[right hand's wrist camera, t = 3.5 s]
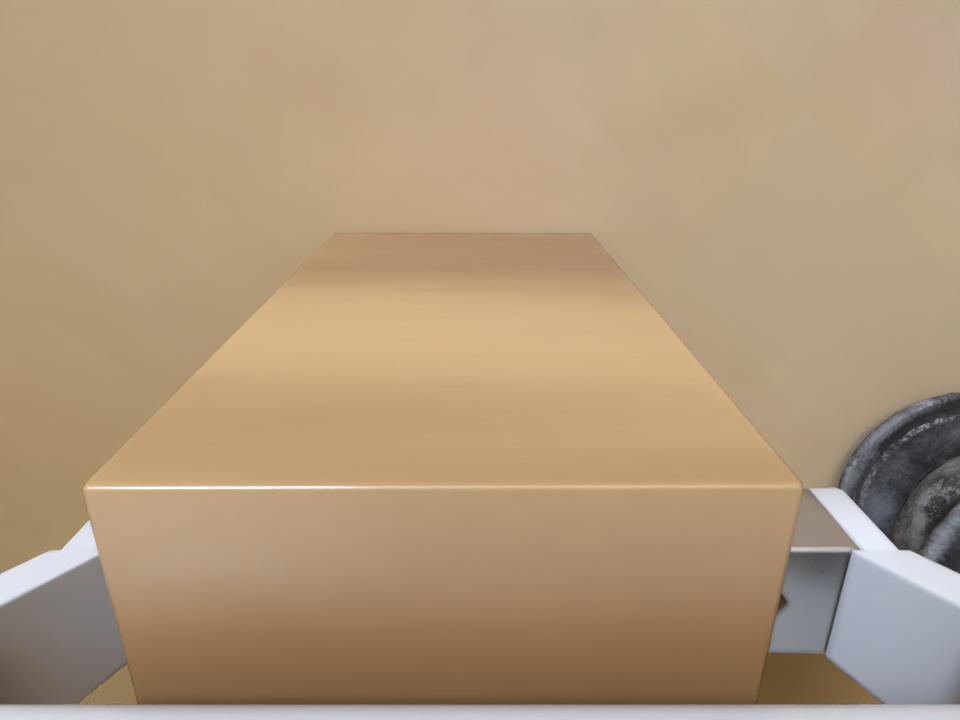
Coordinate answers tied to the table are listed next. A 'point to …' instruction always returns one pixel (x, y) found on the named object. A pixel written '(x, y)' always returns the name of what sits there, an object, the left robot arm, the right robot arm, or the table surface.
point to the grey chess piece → (913, 479)
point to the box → (448, 494)
